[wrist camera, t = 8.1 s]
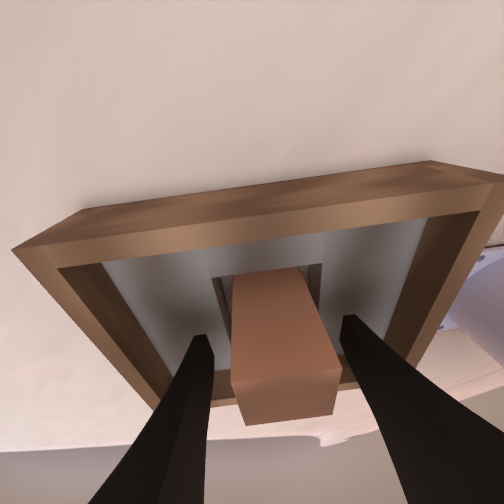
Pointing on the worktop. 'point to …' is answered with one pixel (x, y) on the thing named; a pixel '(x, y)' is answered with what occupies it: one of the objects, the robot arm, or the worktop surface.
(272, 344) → the terracotta peg
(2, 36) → the worktop surface
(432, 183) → the box
